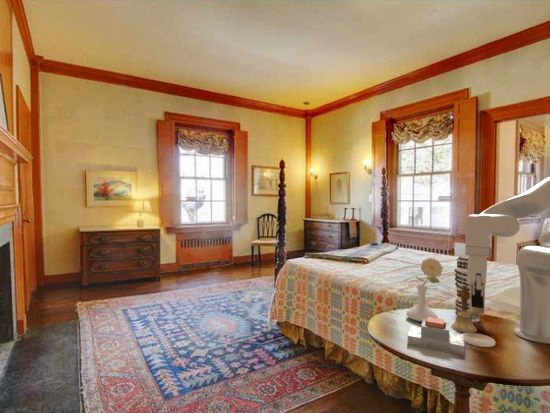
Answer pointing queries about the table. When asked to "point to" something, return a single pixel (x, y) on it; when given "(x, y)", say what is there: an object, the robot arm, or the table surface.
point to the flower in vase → (421, 309)
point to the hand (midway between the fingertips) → (476, 304)
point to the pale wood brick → (473, 309)
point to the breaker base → (436, 338)
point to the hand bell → (464, 315)
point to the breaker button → (435, 322)
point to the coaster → (478, 340)
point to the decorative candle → (462, 281)
